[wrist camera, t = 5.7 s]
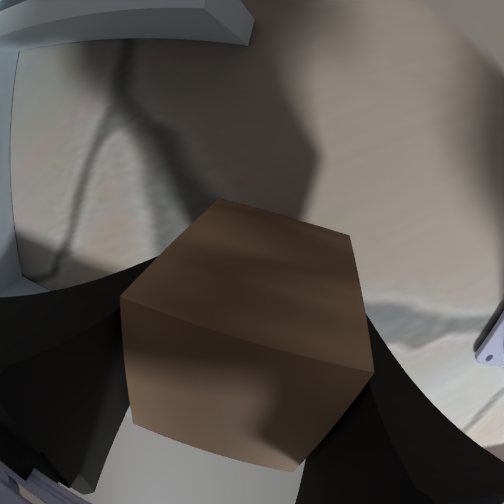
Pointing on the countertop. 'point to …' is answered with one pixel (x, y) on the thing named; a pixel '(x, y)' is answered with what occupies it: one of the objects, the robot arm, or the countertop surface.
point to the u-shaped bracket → (87, 29)
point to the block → (247, 336)
